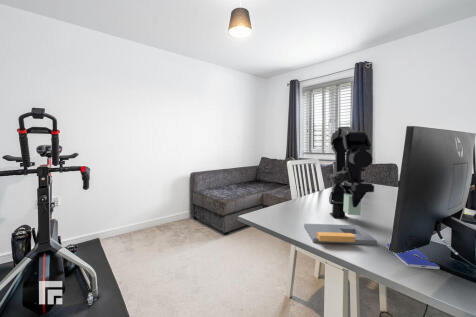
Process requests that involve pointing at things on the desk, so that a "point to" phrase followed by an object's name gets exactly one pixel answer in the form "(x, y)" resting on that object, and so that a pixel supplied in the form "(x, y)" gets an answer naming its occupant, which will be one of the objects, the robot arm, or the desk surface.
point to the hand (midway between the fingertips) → (351, 205)
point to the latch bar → (335, 237)
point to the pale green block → (351, 206)
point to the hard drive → (415, 259)
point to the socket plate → (360, 238)
